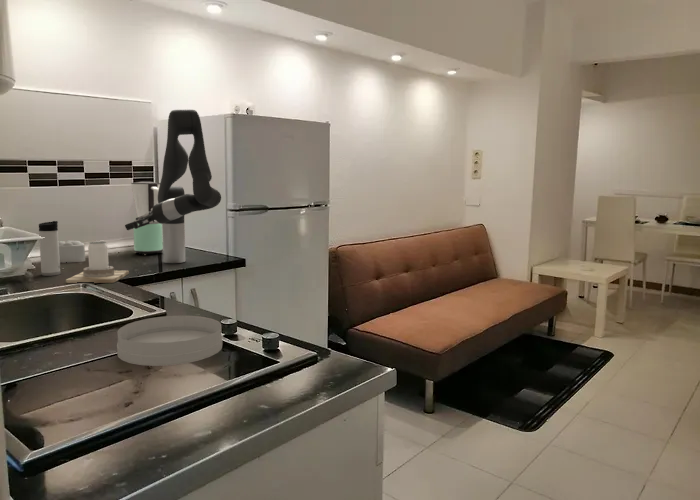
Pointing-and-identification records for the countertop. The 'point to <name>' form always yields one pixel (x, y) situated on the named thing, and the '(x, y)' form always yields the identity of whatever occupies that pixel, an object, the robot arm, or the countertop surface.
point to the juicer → (145, 199)
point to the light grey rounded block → (71, 251)
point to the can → (98, 256)
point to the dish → (169, 340)
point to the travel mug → (49, 248)
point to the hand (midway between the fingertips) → (131, 224)
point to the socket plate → (96, 279)
